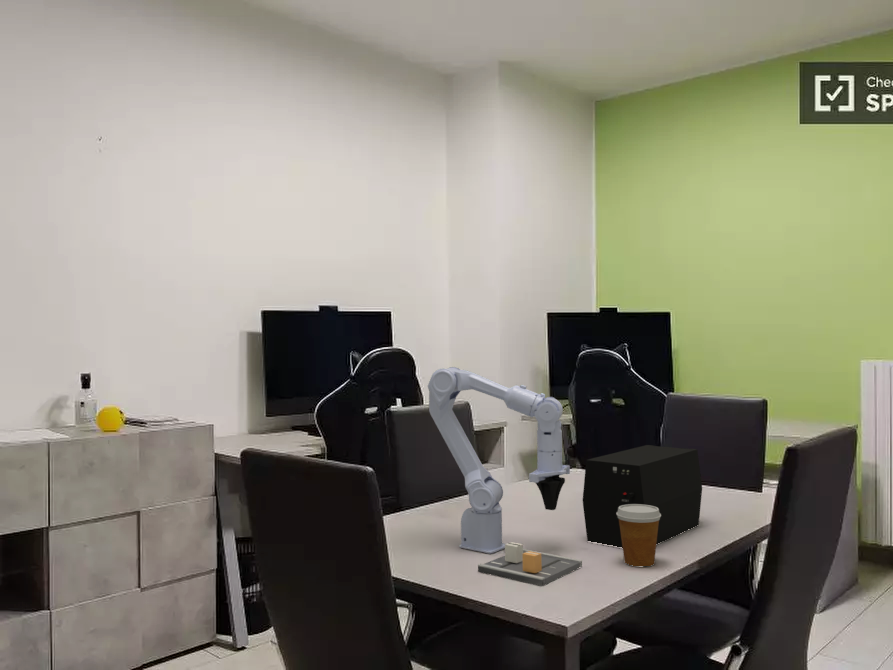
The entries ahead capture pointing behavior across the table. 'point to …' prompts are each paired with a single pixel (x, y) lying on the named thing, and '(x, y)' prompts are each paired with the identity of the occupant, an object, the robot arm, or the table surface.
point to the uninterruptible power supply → (642, 490)
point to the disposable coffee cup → (639, 533)
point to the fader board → (550, 571)
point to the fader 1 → (514, 552)
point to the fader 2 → (532, 562)
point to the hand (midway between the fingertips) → (550, 509)
